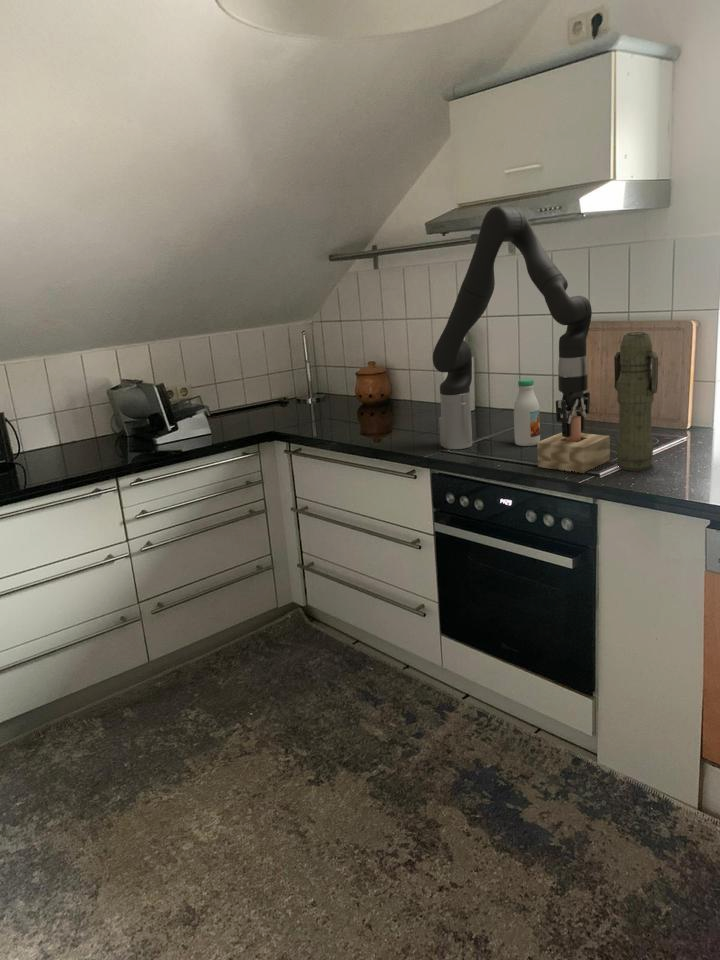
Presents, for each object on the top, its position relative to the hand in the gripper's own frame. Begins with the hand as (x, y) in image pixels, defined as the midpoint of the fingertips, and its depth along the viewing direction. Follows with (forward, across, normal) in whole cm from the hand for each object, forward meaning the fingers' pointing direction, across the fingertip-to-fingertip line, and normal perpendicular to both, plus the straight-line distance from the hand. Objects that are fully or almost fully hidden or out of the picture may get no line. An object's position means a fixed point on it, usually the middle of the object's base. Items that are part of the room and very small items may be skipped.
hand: (573, 433), depth 203 cm
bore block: (+9, 0, 0) cm, 9 cm away
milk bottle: (+9, -14, -24) cm, 29 cm away
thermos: (+9, -5, +15) cm, 18 cm away
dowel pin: (+6, 0, 0) cm, 6 cm away
